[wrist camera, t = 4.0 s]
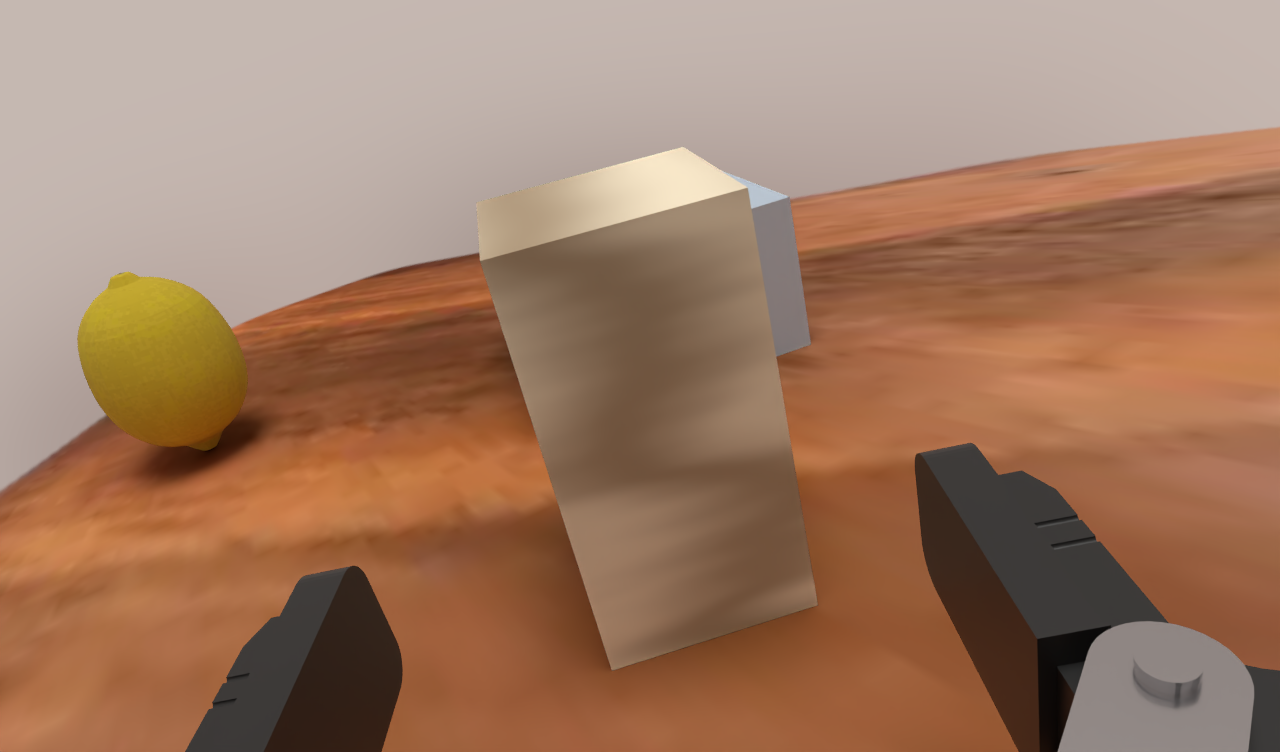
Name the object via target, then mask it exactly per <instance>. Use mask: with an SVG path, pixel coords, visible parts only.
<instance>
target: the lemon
mask: <svg viewBox="0 0 1280 752" xmlns="http://www.w3.org/2000/svg"><path fill="white" fill-rule="evenodd" d="M78 351H79V357H80V361H81V365H82V369H83V372H84V375H85V378H86V380H87V382H88V385H89V387H90V389H91V391H92V393H93V395H94V397H95V399H96V400H97V402H98V404H99V405H100V407H101V408H102V409H103V411H104V412H105V413H106V415H107V416H108V417H109V418H110V419H111V420H112V421H113V422H114V423H115V424H116V425H117V426H118V427H119V428H120V429H122V430H123V431H125V432H126V433H127V434H129V435H131V436H133V437H135V438H137V439H139V440H142V441H144V442H147V443H150V444H153V445H157V446H165V447H179V446H189V447H192V448H195V449H198V450H202V451H207V450H210V449H212V448H214V447H215V446H217V444H218V442H219V440H220V437H221V434H222V432H223V430H224V429H225V427H227V426H228V425H229V424H230V423H231V422H232V421H233V420H234V418H235V417H236V416H237V414H238V413H239V411H240V409H241V407H242V405H243V402H244V399H245V395H246V392H247V384H248V375H247V368H246V363H245V359H244V356H243V353H242V350H241V348H240V346H239V343H238V341H237V339H236V337H235V335H234V333H233V331H232V330H231V328H230V326H229V325H228V323H227V322H226V320H225V319H224V318H223V316H222V315H221V314H220V313H219V311H218V310H217V309H216V308H215V307H214V306H213V305H212V304H211V302H210V301H209V300H208V299H206V298H205V297H204V296H203V295H202V294H200V293H199V292H197V291H196V290H194V289H193V288H191V287H188V286H186V285H184V284H182V283H179V282H176V281H173V280H169V279H164V278H158V277H138V276H137V275H135V274H133V273H130V272H124V273H119V274H117V275H115V276H113V277H112V278H111V279H110V282H109V285H108V288H107V289H106V290H105V291H103V292H102V293H101V294H100V295H99V296H98V297H97V298H96V299H95V300H94V301H93V302H92V304H91V305H90V307H89V308H88V310H87V311H86V313H85V315H84V317H83V319H82V321H81V324H80V327H79V331H78Z"/></svg>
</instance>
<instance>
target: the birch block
mask: <svg viewBox="0 0 1280 752" xmlns="http://www.w3.org/2000/svg"><path fill="white" fill-rule="evenodd" d="M477 218H478V233H479V234H478V235H479V251H480V262H481V265H482V268H483V272H484V275H485V278H486V281H487V284H488V287H489V290H490V293H491V296H492V300H493V303H494V306H495V309H496V312H497V315H498V318H499V321H500V324H501V328H502V331H503V334H504V337H505V340H506V343H507V346H508V349H509V352H510V356H511V359H512V362H513V365H514V368H515V371H516V374H517V377H518V380H519V384H520V387H521V390H522V393H523V396H524V399H525V402H526V405H527V408H528V412H529V415H530V418H531V421H532V424H533V427H534V430H535V433H536V436H537V440H538V443H539V446H540V449H541V452H542V455H543V458H544V461H545V464H546V468H547V471H548V474H549V477H550V480H551V483H552V486H553V489H554V492H555V495H556V499H557V502H558V505H559V508H560V511H561V514H562V517H563V520H564V523H565V527H566V530H567V533H568V536H569V539H570V542H571V545H572V548H573V551H574V555H575V558H576V561H577V564H578V567H579V570H580V573H581V576H582V579H583V583H584V586H585V589H586V592H587V595H588V598H589V601H590V604H591V607H592V611H593V614H594V617H595V620H596V623H597V626H598V629H599V632H600V635H601V639H602V642H603V645H604V648H605V651H606V654H607V657H608V660H609V663H610V667H611V670H612V671H613V670H616V669H619V668H622V667H625V666H628V665H631V664H635V663H638V662H641V661H644V660H647V659H650V658H653V657H657V656H660V655H663V654H666V653H669V652H672V651H675V650H679V649H682V648H685V647H688V646H691V645H694V644H697V643H701V642H704V641H707V640H710V639H713V638H716V637H719V636H723V635H726V634H729V633H732V632H735V631H738V630H741V629H745V628H748V627H751V626H754V625H757V624H760V623H763V622H767V621H770V620H773V619H776V618H779V617H782V616H785V615H789V614H792V613H795V612H798V611H801V610H804V609H807V608H811V607H814V606H817V605H818V603H817V597H816V591H815V585H814V579H813V573H812V567H811V561H810V555H809V549H808V543H807V537H806V531H805V525H804V519H803V513H802V507H801V501H800V496H799V490H798V484H797V478H796V472H795V466H794V460H793V454H792V448H791V442H790V436H789V430H788V424H787V418H786V412H785V406H784V400H783V394H782V388H781V382H780V376H779V370H778V364H777V358H776V353H775V347H774V341H773V335H772V329H771V323H770V317H769V311H768V305H767V299H766V293H765V287H764V281H763V275H762V269H761V263H760V257H759V251H758V245H757V239H756V233H755V227H754V221H753V215H752V210H751V204H750V198H749V192H748V187H746V186H745V185H743V184H741V183H740V182H738V181H737V180H735V179H733V178H732V177H730V176H729V175H727V174H725V173H724V172H722V171H721V170H719V169H717V168H716V167H714V166H713V165H711V164H709V163H708V162H706V161H705V160H703V159H702V158H700V157H698V156H697V155H695V154H694V153H692V152H690V151H689V150H687V149H685V148H684V147H681V148H678V149H674V150H670V151H666V152H663V153H659V154H655V155H651V156H648V157H644V158H640V159H637V160H633V161H629V162H625V163H621V164H618V165H614V166H610V167H607V168H603V169H599V170H595V171H592V172H588V173H584V174H580V175H577V176H573V177H569V178H566V179H562V180H558V181H555V182H551V183H547V184H543V185H540V186H536V187H532V188H529V189H525V190H521V191H517V192H513V193H510V194H506V195H502V196H499V197H495V198H491V199H487V200H484V201H480V202H477Z"/></svg>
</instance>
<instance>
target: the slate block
mask: <svg viewBox="0 0 1280 752" xmlns="http://www.w3.org/2000/svg"><path fill="white" fill-rule="evenodd" d="M722 172H723V171H722ZM724 173H725V174H727V175H729V176H730V177H732V178H733V179H735V180H737V181H738V182H740V183H741V184H743V185H745V186H746V187H748V192H749V198H750V204H751V210H752V215H753V221H754V227H755V233H756V239H757V245H758V251H759V257H760V263H761V269H762V275H763V281H764V287H765V293H766V299H767V305H768V311H769V317H770V323H771V329H772V335H773V341H774V347H775V353H776V357H777V356H779V355H782V354H785V353H788V352H791V351H794V350H797V349H800V348H802V347H805V346H808V345H811V341H810V335H809V328H808V321H807V314H806V307H805V300H804V294H803V287H802V280H801V273H800V266H799V259H798V253H797V246H796V239H795V232H794V225H793V218H792V211H791V205H790V198H789V197H788V196H786V195H783V194H780V193H778V192H775V191H773V190H770V189H768V188H765V187H762V186H760V185H757V184H755V183H752V182H749V181H747V180H744V179H742V178H739V177H736V176H734V175H731V174H728V173H726V172H724Z"/></svg>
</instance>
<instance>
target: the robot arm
mask: <svg viewBox="0 0 1280 752" xmlns="http://www.w3.org/2000/svg"><path fill="white" fill-rule="evenodd" d="M915 474H916V485H917V495H918V505H919V516H920V526H921V537H922V546H923V551H924V556H925V560H926V564H927V567H928V571H929V574H930V577H931V579H932V582H933V584H934V587H935V589H936V591H937V593H938V595H939V597H940V599H941V601H942V603H943V605H944V607H945V608H946V610H947V612H948V614H949V616H950V618H951V620H952V622H953V624H954V626H955V628H956V630H957V632H958V634H959V636H960V638H961V640H962V642H963V644H964V646H965V647H966V649H967V651H968V653H969V655H970V657H971V659H972V661H973V663H974V665H975V667H976V669H977V671H978V673H979V675H980V677H981V679H982V681H983V683H984V685H985V686H986V688H987V690H988V692H989V694H990V696H991V698H992V700H993V702H994V704H995V706H996V708H997V710H998V712H999V714H1000V716H1001V718H1002V720H1003V722H1004V724H1005V725H1006V727H1007V729H1008V731H1009V733H1010V735H1011V737H1012V739H1013V741H1014V743H1015V745H1016V747H1017V749H1018V751H1019V752H1280V671H1278V670H1269V669H1261V668H1256V667H1252V666H1247V665H1244V664H1243V663H1242V662H1241V661H1240V660H1239V658H1238V657H1237V656H1236V655H1235V654H1233V653H1232V652H1231V651H1230V650H1229V649H1228V648H1226V647H1225V646H1223V645H1222V644H1220V643H1219V642H1218V641H1216V640H1214V639H1212V638H1210V637H1208V636H1207V635H1205V634H1202V633H1200V632H1197V631H1195V630H1192V629H1190V628H1186V627H1183V626H1179V625H1175V624H1170V623H1168V622H1167V621H1166V619H1165V618H1164V617H1163V616H1162V615H1161V613H1160V612H1159V611H1158V610H1157V609H1156V607H1155V606H1154V605H1153V604H1152V603H1151V602H1150V600H1149V599H1148V598H1147V597H1146V596H1145V594H1144V593H1143V592H1142V591H1141V590H1140V589H1139V587H1138V586H1137V585H1136V584H1135V583H1134V581H1133V580H1132V579H1131V578H1130V577H1129V575H1128V574H1127V573H1126V572H1125V571H1124V570H1123V568H1122V567H1121V566H1120V565H1119V564H1118V562H1117V561H1116V560H1115V559H1114V558H1113V556H1112V555H1111V554H1110V553H1109V552H1108V551H1107V549H1106V548H1105V547H1104V546H1103V545H1102V543H1101V542H1097V541H1096V538H1095V535H1094V534H1093V533H1092V532H1091V530H1090V529H1089V528H1088V527H1087V526H1086V524H1085V523H1084V522H1083V521H1082V520H1079V519H1078V516H1077V514H1076V513H1075V511H1074V510H1073V509H1072V508H1071V507H1070V505H1069V504H1068V503H1067V502H1066V501H1065V500H1064V498H1063V497H1062V496H1061V495H1060V494H1059V492H1058V491H1057V490H1056V489H1054V488H1053V487H1051V486H1049V485H1047V484H1045V483H1043V482H1042V481H1040V480H1038V479H1036V478H1034V477H1032V476H1031V475H1029V474H1027V473H1025V472H1023V471H1017V472H1012V473H1007V474H1002V475H998V474H997V473H996V472H995V470H994V469H993V468H992V466H991V465H990V464H989V462H988V461H987V460H986V458H985V457H984V456H983V454H982V453H981V452H980V450H979V449H978V448H977V447H976V446H975V445H974V444H973V443H967V444H962V445H957V446H952V447H947V448H942V449H937V450H932V451H928V452H923V453H918V454H916V457H915ZM226 678H227V683H224V684H222V686H221V688H220V690H219V692H218V693H217V695H216V697H215V699H214V701H213V702H212V703H213V709H209V710H208V712H207V713H206V715H205V717H204V719H203V721H202V722H201V724H200V726H199V728H198V730H197V731H196V733H195V735H194V737H193V739H192V740H191V742H190V744H189V746H188V748H187V749H186V751H185V752H381V751H382V748H383V745H384V741H385V738H386V735H387V731H388V728H389V725H390V722H391V718H392V715H393V712H394V708H395V705H396V702H397V698H398V695H399V692H400V688H401V683H402V659H401V653H400V649H399V646H398V643H397V641H396V639H395V636H394V634H393V632H392V630H391V628H390V626H389V624H388V621H387V619H386V617H385V615H384V613H383V611H382V609H381V607H380V604H379V602H378V600H377V598H376V596H375V594H374V592H373V589H372V587H371V585H370V583H369V581H368V579H367V577H366V575H365V573H364V572H363V571H362V570H361V569H360V568H359V567H357V566H350V567H345V568H340V569H335V570H330V571H325V572H320V573H316V574H311V575H306V576H303V577H302V578H301V579H300V580H299V581H298V583H297V584H296V586H295V588H294V590H293V592H292V594H291V596H290V598H289V600H288V602H287V603H286V605H285V607H284V609H283V611H282V613H281V615H280V616H278V617H273V618H271V619H270V620H269V621H268V622H267V623H266V624H265V625H264V626H263V627H262V628H261V629H260V630H259V631H258V632H257V633H256V634H255V635H254V636H253V637H252V638H251V639H250V641H249V642H248V643H247V644H246V645H245V646H244V647H243V648H242V650H241V652H240V654H239V655H238V657H237V659H236V661H235V663H234V665H233V666H232V668H231V670H230V672H229V674H228V675H227V677H226Z"/></svg>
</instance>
